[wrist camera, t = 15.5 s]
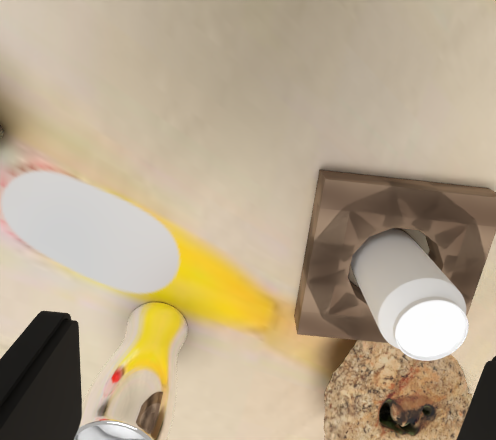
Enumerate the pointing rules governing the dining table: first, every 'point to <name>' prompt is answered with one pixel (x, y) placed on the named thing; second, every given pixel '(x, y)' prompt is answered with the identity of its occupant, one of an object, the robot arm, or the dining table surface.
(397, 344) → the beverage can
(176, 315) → the beer glass
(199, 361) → the dining table surface
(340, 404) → the holed granite stone
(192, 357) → the dining table surface
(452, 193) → the can holder
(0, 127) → the tabletop clock
